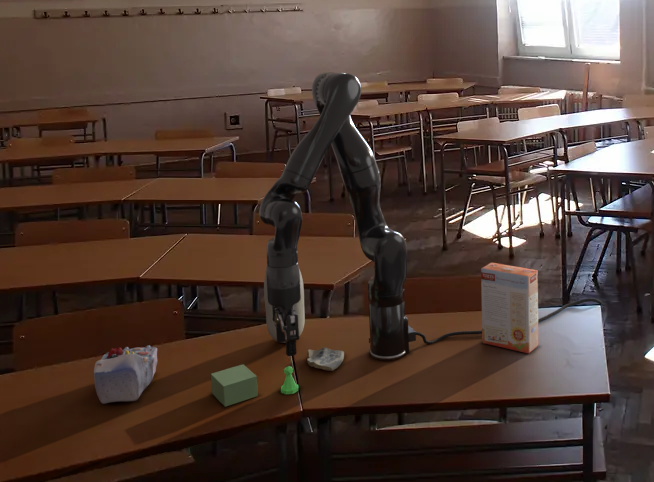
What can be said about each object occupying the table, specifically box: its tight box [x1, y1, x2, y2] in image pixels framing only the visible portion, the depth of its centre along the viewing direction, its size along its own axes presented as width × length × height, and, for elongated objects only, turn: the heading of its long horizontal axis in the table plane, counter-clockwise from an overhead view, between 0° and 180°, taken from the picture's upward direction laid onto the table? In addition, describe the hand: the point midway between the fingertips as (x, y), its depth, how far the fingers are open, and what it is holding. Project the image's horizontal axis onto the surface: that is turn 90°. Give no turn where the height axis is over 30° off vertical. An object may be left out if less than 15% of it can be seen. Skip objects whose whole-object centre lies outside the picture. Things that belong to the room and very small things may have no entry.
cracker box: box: [480, 262, 539, 354], centre depth 216 cm, size 14×6×21 cm, turn 58°
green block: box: [210, 364, 259, 408], centre depth 194 cm, size 8×8×5 cm
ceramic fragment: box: [306, 347, 345, 372], centre depth 210 cm, size 11×3×10 cm
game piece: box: [280, 365, 299, 395], centre depth 196 cm, size 4×4×6 cm
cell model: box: [93, 345, 159, 405], centre depth 198 cm, size 13×11×20 cm
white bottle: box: [263, 266, 306, 344], centre depth 222 cm, size 10×10×28 cm
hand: (286, 348), depth 194 cm, fingers open, 8 cm apart
